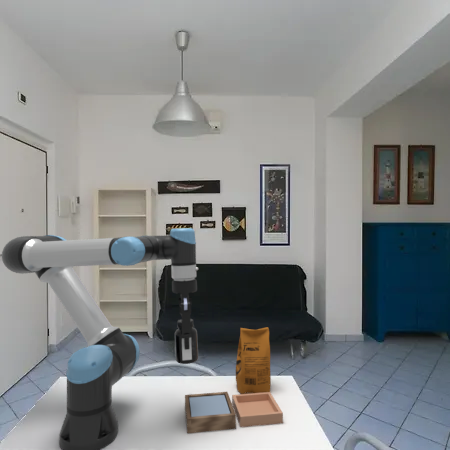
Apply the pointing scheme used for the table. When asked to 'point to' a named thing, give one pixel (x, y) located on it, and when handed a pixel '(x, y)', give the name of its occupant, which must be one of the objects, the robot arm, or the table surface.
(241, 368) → the coffee package
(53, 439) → the table surface
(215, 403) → the pad
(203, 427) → the wooden frame
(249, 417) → the tray
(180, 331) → the supplement bottle
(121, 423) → the table surface
